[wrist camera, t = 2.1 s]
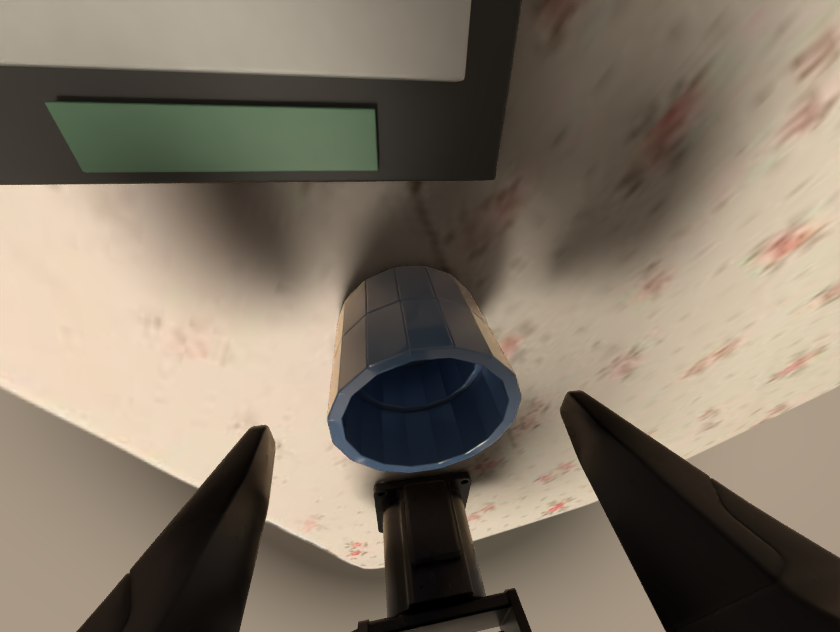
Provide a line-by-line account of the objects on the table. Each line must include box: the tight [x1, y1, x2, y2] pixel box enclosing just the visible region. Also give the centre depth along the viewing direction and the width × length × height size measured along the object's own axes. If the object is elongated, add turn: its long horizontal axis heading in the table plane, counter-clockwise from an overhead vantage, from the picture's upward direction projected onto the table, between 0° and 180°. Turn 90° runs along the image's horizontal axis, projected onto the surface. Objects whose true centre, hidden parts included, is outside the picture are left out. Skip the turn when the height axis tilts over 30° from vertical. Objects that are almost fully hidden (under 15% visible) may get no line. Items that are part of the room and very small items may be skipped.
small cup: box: [327, 266, 521, 473], centre depth 11 cm, size 6×6×5 cm
